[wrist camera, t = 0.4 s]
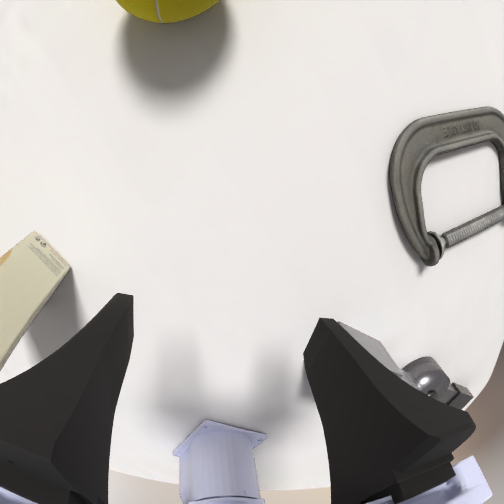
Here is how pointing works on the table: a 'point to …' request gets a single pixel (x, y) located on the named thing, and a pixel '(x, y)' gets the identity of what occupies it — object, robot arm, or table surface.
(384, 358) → the brushed steel cube
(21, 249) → the skincare box
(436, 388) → the ratchet
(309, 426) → the table surface
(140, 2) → the tennis ball
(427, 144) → the c clamp
